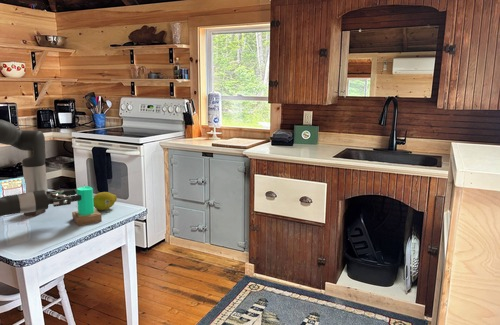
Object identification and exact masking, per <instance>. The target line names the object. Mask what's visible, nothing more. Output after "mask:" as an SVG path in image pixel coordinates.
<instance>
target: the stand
mask: <svg viewBox="0 0 500 325" xmlns="http://www.w3.org/2000/svg"><path fill="white" fill-rule="evenodd" d="M71 214H72V220H73V221H74V222H75V224H76V225H77V226H78V227H80V226H83V225H90V224H95V223H98V222H102V213H100V212H99V210H97V209H96V208H95V207H94V213H93V214H90V215H79V214H78V210H77V211H72V212H71Z"/></svg>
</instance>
